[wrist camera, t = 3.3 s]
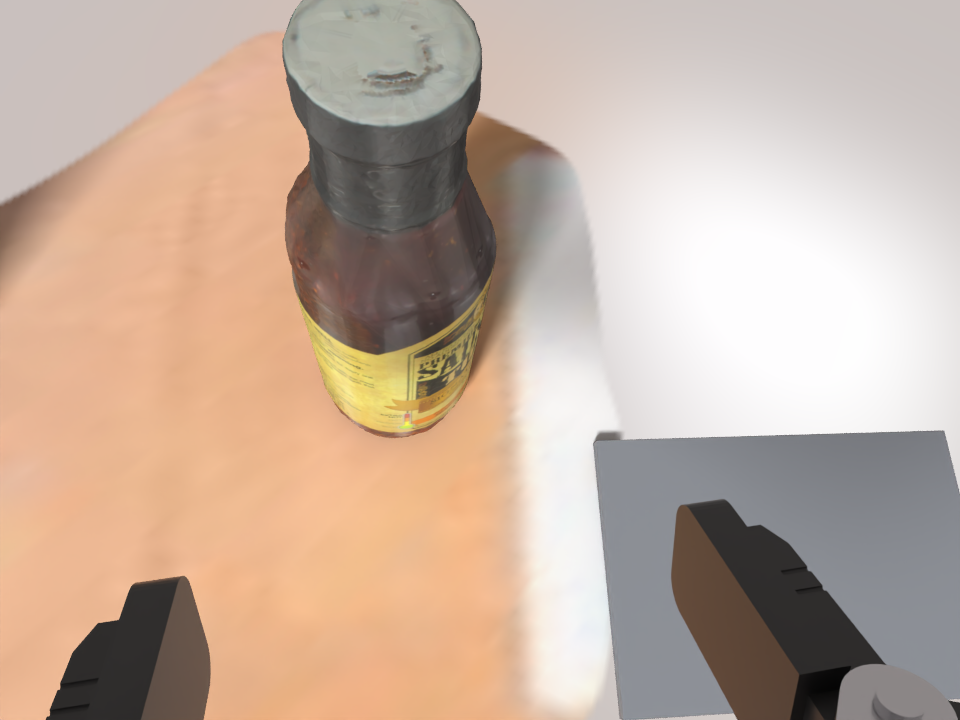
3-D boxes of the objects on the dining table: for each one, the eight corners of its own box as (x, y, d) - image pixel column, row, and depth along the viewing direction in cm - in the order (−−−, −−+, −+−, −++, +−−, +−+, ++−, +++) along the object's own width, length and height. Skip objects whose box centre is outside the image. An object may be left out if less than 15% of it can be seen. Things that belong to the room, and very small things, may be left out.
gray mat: (619, 718, 30) (623, 720, 29) (593, 443, 33) (596, 440, 33) (998, 694, 31) (1009, 695, 31) (935, 433, 35) (944, 430, 34)
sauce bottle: (441, 462, 32) (477, 252, 14) (304, 416, 33) (153, 145, 14) (487, 327, 35) (574, -14, 16) (358, 285, 35) (292, -103, 16)
